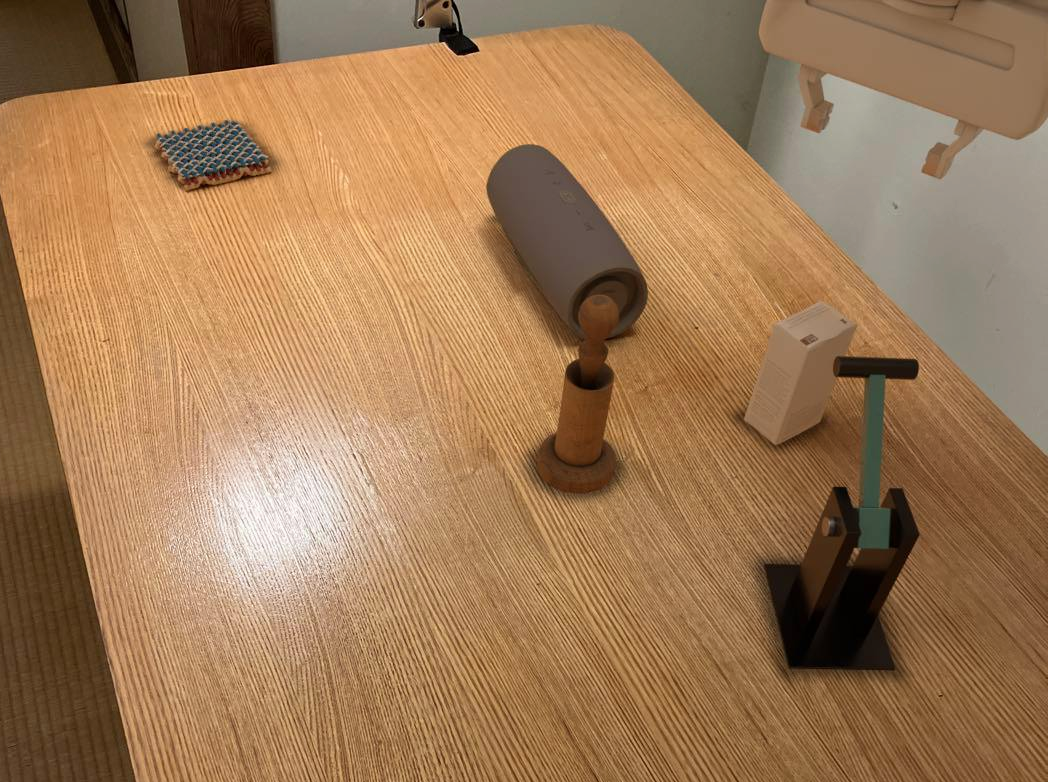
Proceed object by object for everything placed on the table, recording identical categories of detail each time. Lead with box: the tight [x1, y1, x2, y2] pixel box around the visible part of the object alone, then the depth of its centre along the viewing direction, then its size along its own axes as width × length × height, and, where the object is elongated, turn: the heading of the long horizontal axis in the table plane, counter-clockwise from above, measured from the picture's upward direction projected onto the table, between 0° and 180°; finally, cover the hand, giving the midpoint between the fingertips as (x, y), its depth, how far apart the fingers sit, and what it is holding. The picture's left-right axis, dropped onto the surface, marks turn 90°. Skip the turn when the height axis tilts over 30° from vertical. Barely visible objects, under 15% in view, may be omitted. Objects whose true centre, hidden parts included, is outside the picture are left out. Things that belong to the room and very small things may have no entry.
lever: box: [833, 355, 920, 550], centre depth 74 cm, size 13×6×2 cm
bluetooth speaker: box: [486, 143, 649, 340], centre depth 107 cm, size 23×9×10 cm, turn 20°
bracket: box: [763, 485, 921, 671], centre depth 78 cm, size 10×8×13 cm
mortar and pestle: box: [536, 295, 619, 494], centre depth 85 cm, size 7×6×18 cm
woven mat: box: [154, 119, 273, 192], centre depth 121 cm, size 10×11×2 cm
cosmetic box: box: [743, 300, 858, 446], centre depth 93 cm, size 6×4×12 cm
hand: (872, 150), depth 78 cm, fingers open, 8 cm apart
